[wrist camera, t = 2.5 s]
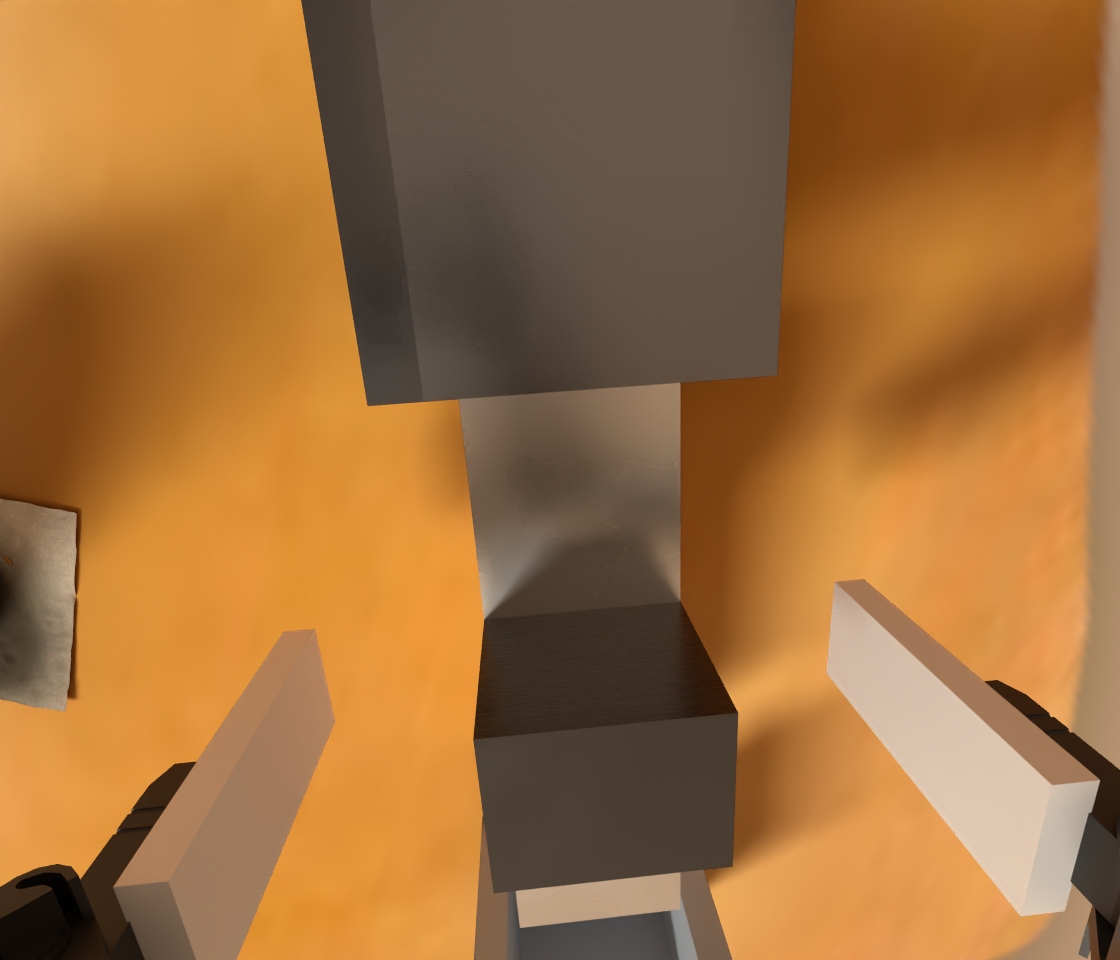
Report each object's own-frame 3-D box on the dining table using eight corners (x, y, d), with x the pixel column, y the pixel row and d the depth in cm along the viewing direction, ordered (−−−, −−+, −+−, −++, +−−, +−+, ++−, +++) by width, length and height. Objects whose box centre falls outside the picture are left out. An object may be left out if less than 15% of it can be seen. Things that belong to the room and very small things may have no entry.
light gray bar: (443, 65, 15) (347, -224, 6) (627, 56, 15) (772, -235, 6) (518, 785, 22) (520, 1104, 13) (644, 772, 22) (724, 1078, 13)
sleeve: (379, 1, 15) (260, -243, 8) (675, -12, 15) (809, -256, 8) (425, 357, 18) (367, 405, 11) (676, 339, 18) (777, 375, 11)
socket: (482, 816, 23) (471, 1003, 17) (679, 795, 24) (736, 972, 18) (497, 928, 25) (491, 1133, 19) (679, 907, 26) (730, 1101, 20)
